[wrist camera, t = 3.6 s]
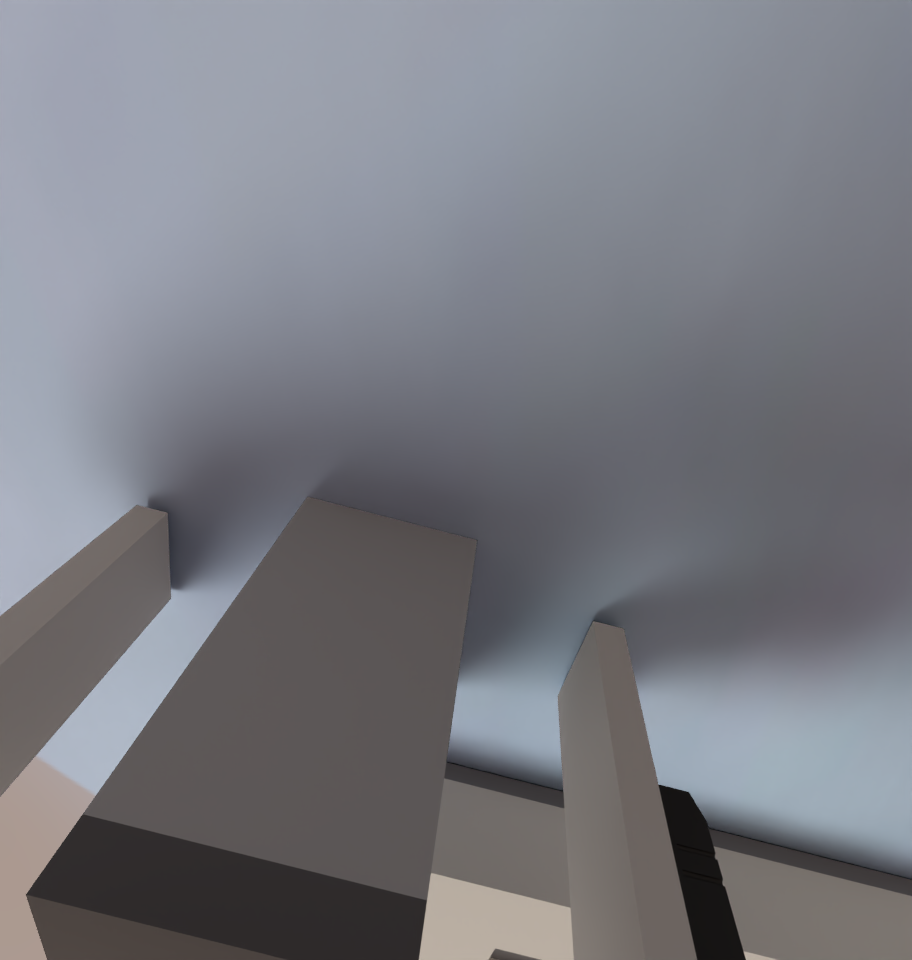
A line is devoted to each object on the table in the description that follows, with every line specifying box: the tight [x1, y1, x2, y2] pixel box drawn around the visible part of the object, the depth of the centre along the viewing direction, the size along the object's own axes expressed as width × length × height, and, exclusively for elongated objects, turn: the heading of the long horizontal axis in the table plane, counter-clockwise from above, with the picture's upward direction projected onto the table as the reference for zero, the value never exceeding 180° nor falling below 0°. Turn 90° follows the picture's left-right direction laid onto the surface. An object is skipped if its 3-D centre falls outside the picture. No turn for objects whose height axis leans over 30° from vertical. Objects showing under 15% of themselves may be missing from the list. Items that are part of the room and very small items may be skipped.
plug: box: [26, 497, 477, 960], centre depth 10 cm, size 5×4×8 cm
